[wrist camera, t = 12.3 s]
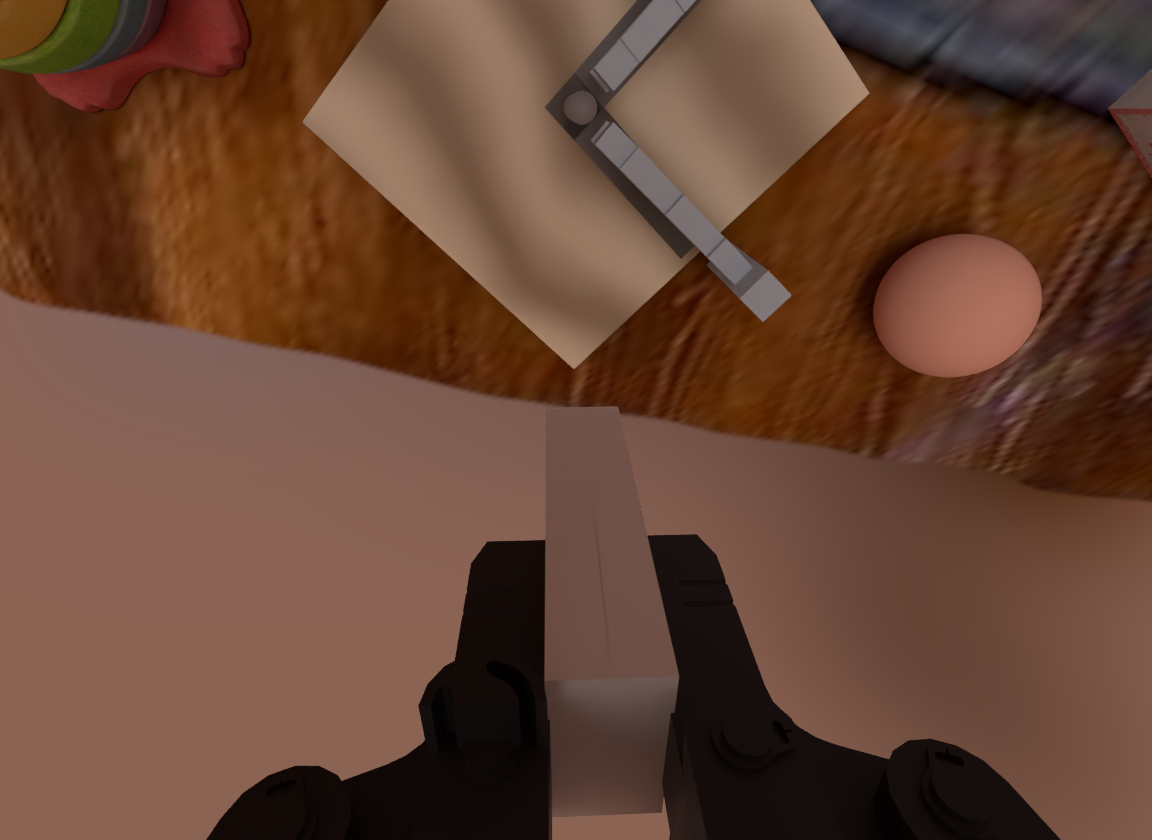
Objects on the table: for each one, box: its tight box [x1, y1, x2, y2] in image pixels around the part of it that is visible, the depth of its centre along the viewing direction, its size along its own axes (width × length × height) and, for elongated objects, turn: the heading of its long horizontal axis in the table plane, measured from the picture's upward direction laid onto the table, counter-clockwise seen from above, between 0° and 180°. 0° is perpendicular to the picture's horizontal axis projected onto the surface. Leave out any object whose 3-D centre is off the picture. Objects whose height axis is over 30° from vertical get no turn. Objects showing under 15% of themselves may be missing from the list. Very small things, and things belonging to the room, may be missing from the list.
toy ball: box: [873, 234, 1042, 377], centre depth 33 cm, size 8×8×8 cm
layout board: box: [302, 0, 869, 369], centre depth 31 cm, size 22×20×1 cm
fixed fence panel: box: [563, 0, 696, 125], centre depth 25 cm, size 12×2×8 cm, turn 135°
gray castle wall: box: [589, 120, 791, 322], centre depth 30 cm, size 12×2×7 cm, turn 48°
